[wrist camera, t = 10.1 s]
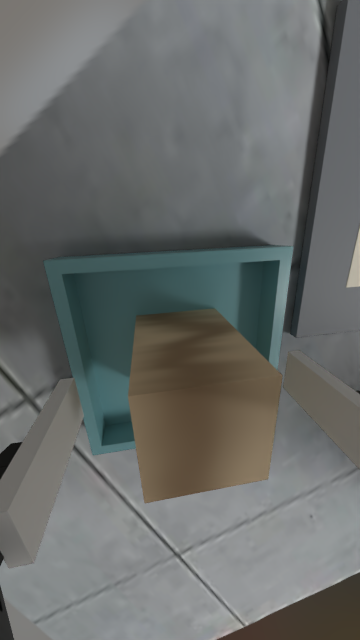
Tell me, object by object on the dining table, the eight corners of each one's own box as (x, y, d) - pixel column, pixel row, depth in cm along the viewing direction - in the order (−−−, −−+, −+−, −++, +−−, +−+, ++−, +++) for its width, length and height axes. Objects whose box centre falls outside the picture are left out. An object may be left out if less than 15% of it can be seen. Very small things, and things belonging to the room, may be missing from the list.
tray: (272, 245, 16) (293, 246, 14) (256, 406, 22) (270, 426, 19) (59, 257, 15) (43, 260, 12) (98, 430, 20) (92, 455, 18)
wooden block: (215, 308, 17) (282, 375, 9) (214, 374, 19) (268, 479, 11) (136, 315, 16) (127, 396, 8) (144, 383, 18) (144, 503, 10)
